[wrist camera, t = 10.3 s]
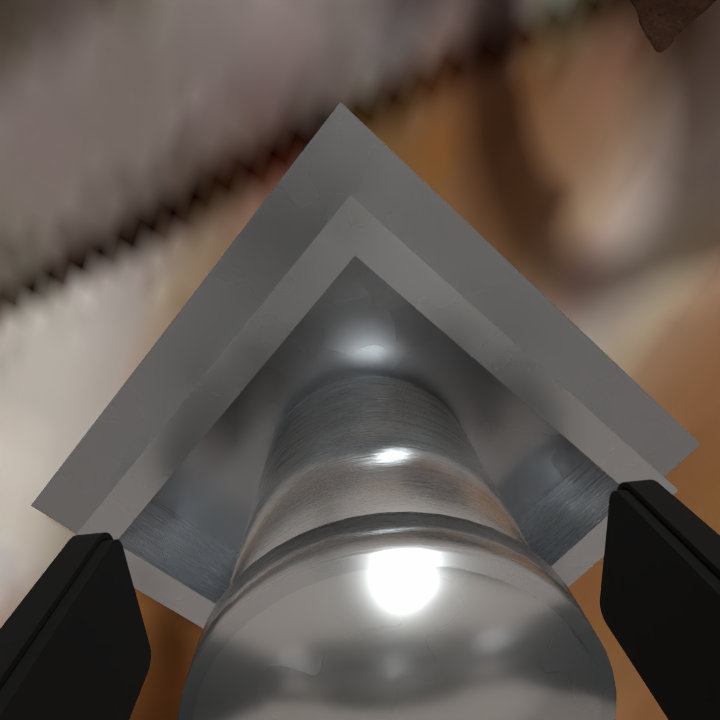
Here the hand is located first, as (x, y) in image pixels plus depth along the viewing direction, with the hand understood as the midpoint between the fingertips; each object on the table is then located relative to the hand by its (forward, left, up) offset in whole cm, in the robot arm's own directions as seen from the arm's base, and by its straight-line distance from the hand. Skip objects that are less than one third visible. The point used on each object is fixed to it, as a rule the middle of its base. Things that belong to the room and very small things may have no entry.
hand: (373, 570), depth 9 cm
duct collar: (0, 0, -5) cm, 5 cm away
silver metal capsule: (0, 0, -4) cm, 4 cm away
